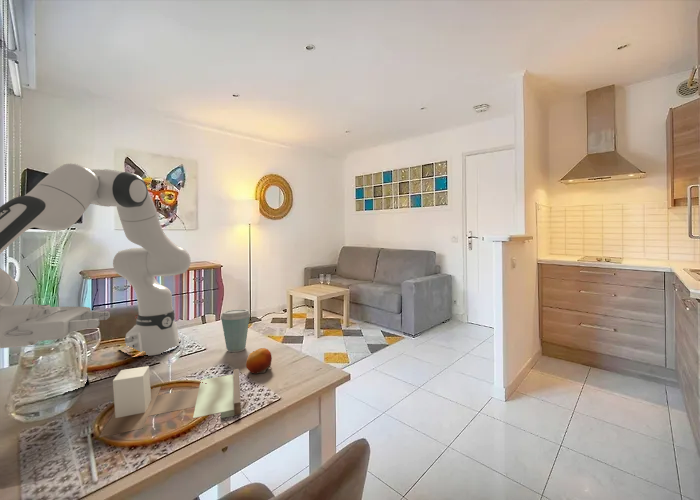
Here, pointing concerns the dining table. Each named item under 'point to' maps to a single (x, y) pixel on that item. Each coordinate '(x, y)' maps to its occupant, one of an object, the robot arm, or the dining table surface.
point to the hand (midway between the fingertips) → (104, 318)
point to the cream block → (132, 391)
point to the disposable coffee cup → (235, 328)
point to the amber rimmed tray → (186, 403)
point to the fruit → (259, 361)
